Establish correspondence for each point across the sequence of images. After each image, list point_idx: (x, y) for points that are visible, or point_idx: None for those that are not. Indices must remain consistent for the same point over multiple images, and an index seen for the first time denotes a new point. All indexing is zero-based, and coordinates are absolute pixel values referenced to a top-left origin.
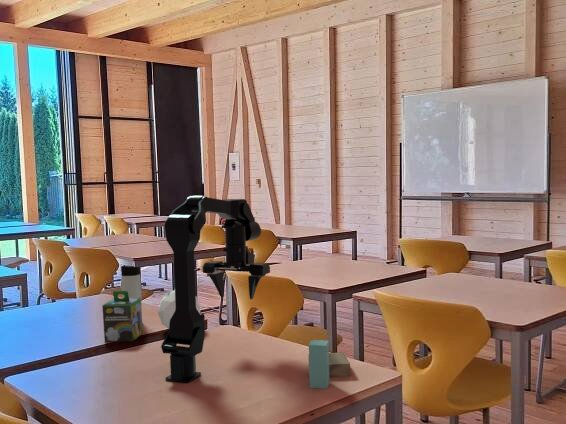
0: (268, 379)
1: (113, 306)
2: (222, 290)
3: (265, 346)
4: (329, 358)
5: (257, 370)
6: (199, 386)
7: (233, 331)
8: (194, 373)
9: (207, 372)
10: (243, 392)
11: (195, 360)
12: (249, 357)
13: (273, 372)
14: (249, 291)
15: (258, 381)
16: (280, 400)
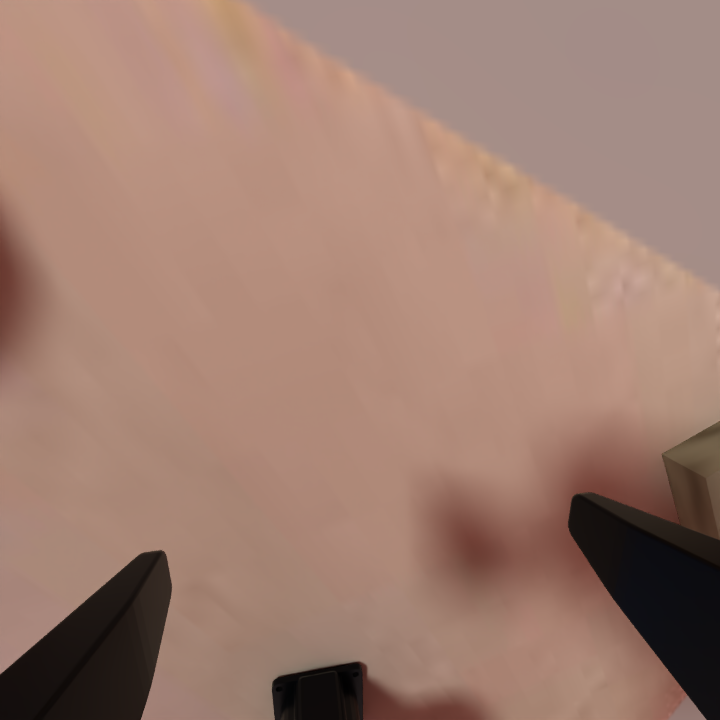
0: (568, 598)
1: None
2: (124, 675)
3: (444, 293)
4: None
5: (514, 555)
6: (403, 716)
7: (95, 26)
8: (357, 703)
9: (365, 636)
10: (532, 689)
11: (341, 713)
12: (436, 457)
13: (567, 548)
14: (665, 658)
15: (545, 621)
16: (627, 681)
